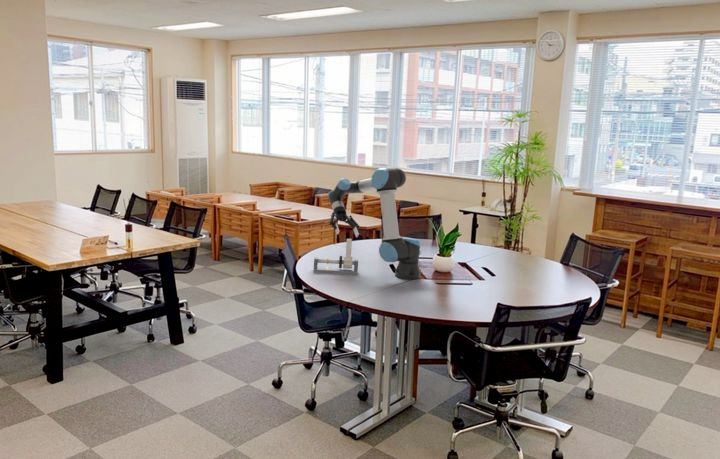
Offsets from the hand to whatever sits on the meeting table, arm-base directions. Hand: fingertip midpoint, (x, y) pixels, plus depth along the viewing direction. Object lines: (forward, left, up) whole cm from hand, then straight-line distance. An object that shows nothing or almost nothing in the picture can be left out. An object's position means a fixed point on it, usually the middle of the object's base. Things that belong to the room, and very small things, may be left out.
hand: (348, 234), depth 353 cm
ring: (-1, +8, -19) cm, 21 cm away
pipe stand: (+1, +10, -21) cm, 24 cm away
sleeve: (-5, +6, -19) cm, 20 cm away
